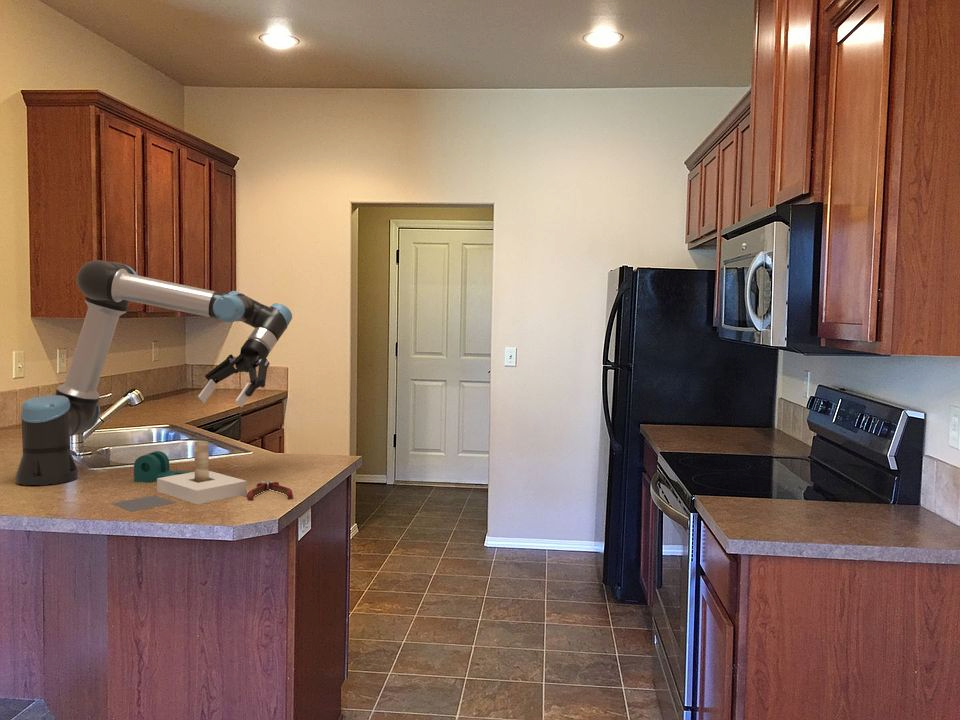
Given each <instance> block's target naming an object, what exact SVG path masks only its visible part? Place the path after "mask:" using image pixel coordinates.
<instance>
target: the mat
mask: <svg viewBox="0 0 960 720" xmlns="http://www.w3.org/2000/svg"><path fill="white" fill-rule="evenodd" d="M173 504H177V502H176V501H172V500H169V499H167V498H163V497H160V496H158V495H155V494H154V495H150V496H149V495H148V496H144V497H138V498H134V499H129V500H124V501H123V500H122V501H118V502H112V503H111V505H113V506H116V507H118V508H120V509H124V510H125V511H129V512H131V513H133V512H138V511H142V510H143V511H144V510H148V509H153V508H157V507H162V506H166V505H173Z"/></svg>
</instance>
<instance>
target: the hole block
mask: <svg viewBox="0 0 960 720" xmlns="http://www.w3.org/2000/svg"><path fill="white" fill-rule="evenodd" d="M156 488H157V489H156V491H157V492H158V493H161V494H162V495H163V494H164V495H167V496H170V497H172V498H176V499H177V500H183V501H185V502H188V503H191V504H194V505H197V506H198V505H203V504H206V503H212V502H216V501H221V500H226V499H230V498H235V497H243V496H244V497H247V494H248V480H245V479H242V478H238V477H237V478H236V477H233V476H229V475H227V474H222V473H218V472H215V471H212V470H209V481H205V482H199V483H197V482H195V472H191V473H185V474H179V475H173V476H167V477H162V478H157V482H156Z"/></svg>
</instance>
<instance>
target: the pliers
mask: <svg viewBox="0 0 960 720" xmlns="http://www.w3.org/2000/svg"><path fill="white" fill-rule="evenodd" d="M267 489H271V490H274V491H278V492H281V493H284V494H286V495H287V496H288V497H287V496H286V495H285V496H286V497H287V500H288V499H291V498H292V499H293V497H294V495H293V491H292V489H291V488H289V487H286V486H283V485H280V483H279V482H277V481H274V482H273V480H269V481H268V482H266V481H265V480H260V482H259V483H257V484H256V487H255V488H252V489H251V490H249V491H247V496H246V499H247V501H248V502H252V501H254V498H255V497H256V496H255V495H257V494H259V493H261V492H263V491H265V490H267ZM267 491H268V490H267ZM265 492H266V491H265ZM263 493H264V492H263ZM261 494H262V493H261ZM259 495H260V494H259ZM254 496H255V497H254ZM257 496H258V495H257ZM253 497H254V498H253ZM292 499H291V500H292Z"/></svg>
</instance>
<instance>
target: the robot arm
mask: <svg viewBox="0 0 960 720" xmlns="http://www.w3.org/2000/svg"><path fill="white" fill-rule="evenodd" d="M76 284H77V287H78V289H79V291H80V292H81V293H82V294H83V295H84V296H85V298H84V303H85V304H86V305H87V311H86V315H85V317H84V322H83V325H82V328H81V330H80V334H79V337H78V340H77V343H76V346H75V350H74V352H73V355H72V359H71V362H70V366H69V369H68V371H67V372H68V373H67V375H66V378H65V382H63V383H62V384H61V385H59V386H57V388H56V391H55V394H53V395H51V394H50V395H42V396H37V397H33V398H29V399H27V400H26V401H24V402H23V403H22V404H21V413H20V418H21V419H20V420H21V439H22V440H21V442H22V444H21V445H22V456H21V459H20V462H19V465H18V468H17V471H16V474H15V483H16V482H17V483H18V484H17V483H16V484H17V485H19V484H22V485H21V486H26V485H40V486H50V485H49V484H52V485H58V483H59V484H64V483H68V482H71V481H75V480H76V479H78V478H79V468H78V467H77V464H76V463H77V462H76V461H75V459H74V456H73V454H72V451H71V450H72V448H71V437H73V436H77V435H78V436H79V435H82V434H84V433H86V432H88V431H89V430H91V429H92V428H94V427H95V425H97V423H98V421H99V419H100V417H101V407H100V405H99V401H100V396H101V395H100V393H98V391H97V388H98V385H99V382H100V379H101V376H102V373H103V369H104V366H105V363H106V360H107V356H108V354H109V351H110V347H111V344H112V341H113V338H114V334H115V331H116V329H117V326H118V321H119V319H120V317H121V316H122V315H124V314H126V313H128V308H129V306H130V303H131V302H132V303H138V304H141V305H142V304H143V305H148V306H153V307H158V308H163V309H167V310H174V311H179V312H182V313H188V314H192V315H198V316H203V317H208V318H211V319H217V320H221V321H223V322H226V323H234V322H242V323H244V324H246V325H248V326H250V327H252V328H254V329H253V331H252V332H251V333H250V335H249V336H248V337H247V340H245V342H244V343H243V345H242V346H241V347H240V351H239V355H238V356H234V355H233V354H232V353H231V354H228V355H227V356H226V359H224V360H223V361H222V362H221V363H219V364H218V365H216V366H215V367H214V368H212V369H211V370H210V371H208V373H206V374H205V375H204V377H205V379H206V380H207V382H206V383H205V384H204V386H203V387H202V390H201V391H200V393H199V394H198V395H197V397H198V398H199V400H200V401H201V402H202V403H203V404H205V403H206V402H207V401H208V399H209V398H210V397H211V395H212V393H213V392H214V391H215V390H216V389H217V386H218V385H217V384H218V383H220V382H221V381H224V380H225V379H226V378H228V377H230V376H233V375H234V374H238V373H239V372H240V373H243V372H244V373H246V374H247V373H248V375H249V382H247V383H246V384H245V386H244V387H243V389H242V390H241V392H240V393H239V394H238V396H237V398H236V399H235V400H234V401H235V402H236V403H237V405H238V406H239V407H240V408H243V407H244V406H245V403H246V402H247V400H248V399H249V398H250V397H252V395H253V394H254V392H255V391H256V390H257V389H259V388H264V387H266V382H267V372H268V368H269V366H270V364H271V363H270V362H269V360H268V359H267V358H268V356H269V355H270V353H271V351H272V350H273V348H274V347H275V345H277V343H278V342H279V340H280V338H281V337H282V336H283V334H284V333H285V331H286V330H287V329H288V326H289V325H290V323H291V321H292V319H293V313H292V311H291V310H290V309H289V307H287V306H286V305H285V304H283V303H277V302H276V303H273V304H271V305H270V306H268V305H266V304H263V303H262V302H261V303H260V302H259V301H257V300H255V299H253V298H252V297H249V296H248V295H245V294H244V293H241V292H239V291H236V290H232V291H230V292H228V293H225V292H221V291H220V292H218V291H215V290H209V289H206V288H199V287H195V286H190V285H186V284H180V283H176V282H171V281H167V280H166V281H165V280H161V279H158V278H157V279H156V278H152V277H146V276H142V275H138V274H137V272H136V271H135V270H134V269H133V268H132V267H130V266H129V265H126V264H123V263H122V262H121V263H120V262H118V261H117V262H115V261H108V260H107V261H106V260H98V259H96V260H91V261H89V262H86V263H85V264H83V265H82V267H80V268H79V270H78V272H77V276H76ZM257 368H258V372H257Z"/></svg>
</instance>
